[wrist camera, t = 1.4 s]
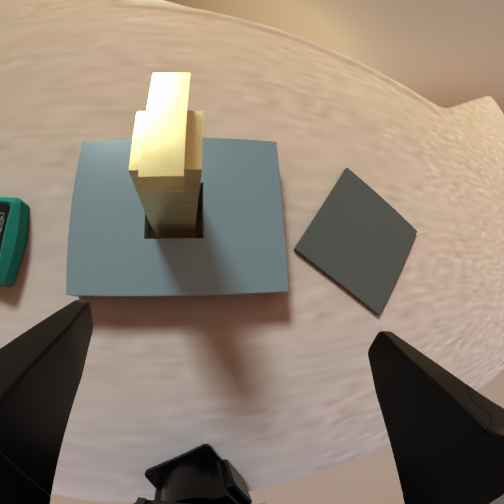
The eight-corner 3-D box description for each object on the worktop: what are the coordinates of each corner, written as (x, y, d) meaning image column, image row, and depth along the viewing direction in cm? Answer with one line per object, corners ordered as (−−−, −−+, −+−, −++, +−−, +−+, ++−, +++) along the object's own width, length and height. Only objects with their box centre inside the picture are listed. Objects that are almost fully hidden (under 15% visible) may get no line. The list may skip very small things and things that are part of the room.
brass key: (194, 250, 23) (204, 176, 10) (156, 251, 22) (118, 177, 9) (194, 190, 24) (207, 73, 11) (157, 190, 23) (137, 73, 10)
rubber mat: (377, 315, 25) (379, 314, 25) (293, 249, 25) (295, 248, 24) (414, 232, 28) (417, 231, 27) (344, 169, 27) (346, 167, 27)
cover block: (278, 292, 24) (288, 291, 21) (78, 296, 20) (66, 294, 18) (268, 156, 26) (276, 142, 23) (90, 156, 22) (82, 142, 20)
